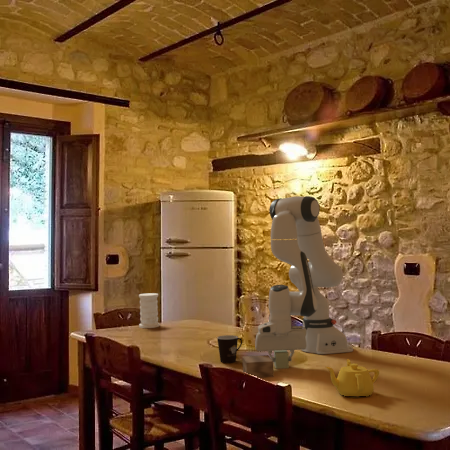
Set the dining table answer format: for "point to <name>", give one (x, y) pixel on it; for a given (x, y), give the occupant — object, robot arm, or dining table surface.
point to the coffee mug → (228, 348)
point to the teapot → (354, 380)
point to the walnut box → (258, 366)
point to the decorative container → (149, 310)
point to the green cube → (281, 359)
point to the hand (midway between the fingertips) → (281, 361)
